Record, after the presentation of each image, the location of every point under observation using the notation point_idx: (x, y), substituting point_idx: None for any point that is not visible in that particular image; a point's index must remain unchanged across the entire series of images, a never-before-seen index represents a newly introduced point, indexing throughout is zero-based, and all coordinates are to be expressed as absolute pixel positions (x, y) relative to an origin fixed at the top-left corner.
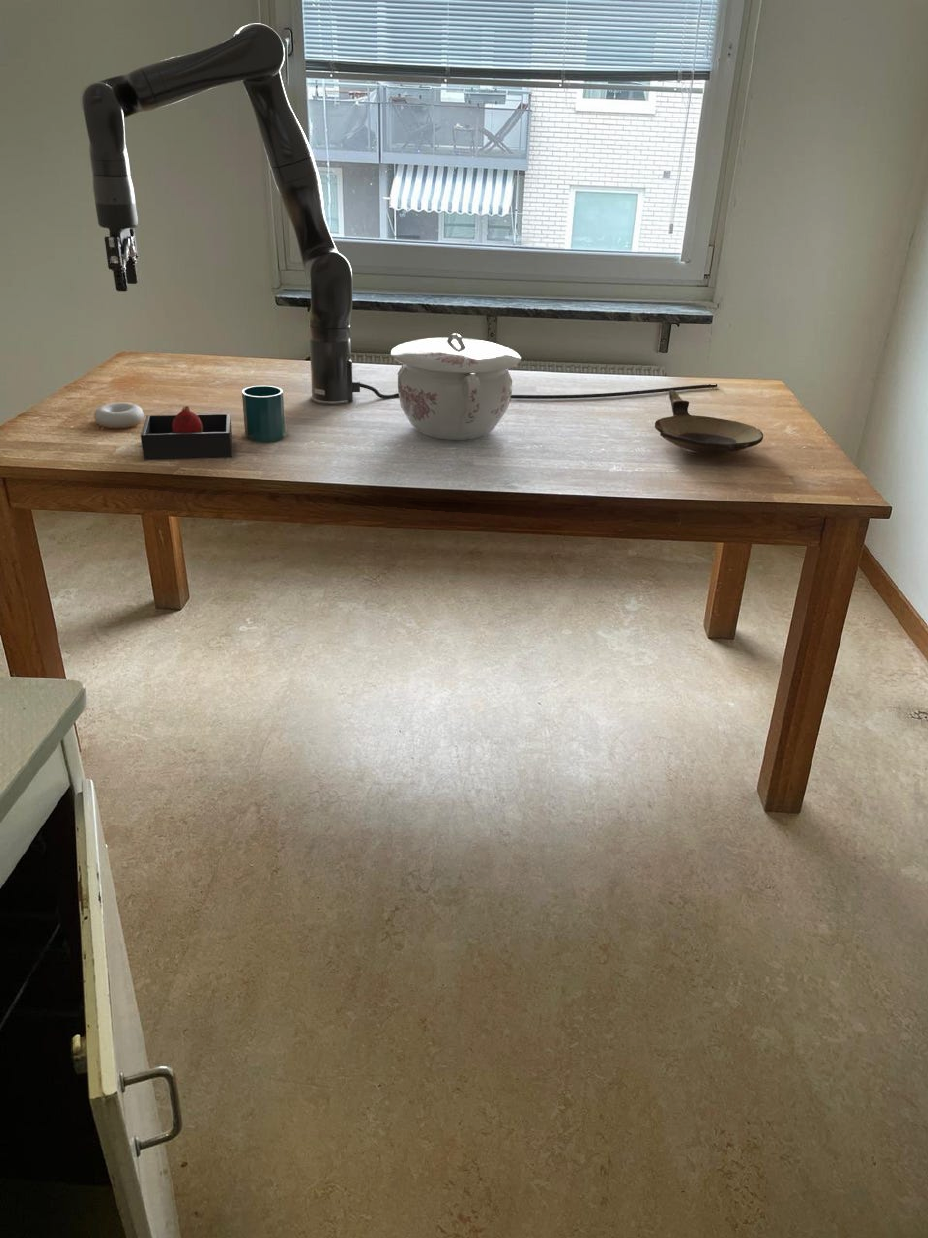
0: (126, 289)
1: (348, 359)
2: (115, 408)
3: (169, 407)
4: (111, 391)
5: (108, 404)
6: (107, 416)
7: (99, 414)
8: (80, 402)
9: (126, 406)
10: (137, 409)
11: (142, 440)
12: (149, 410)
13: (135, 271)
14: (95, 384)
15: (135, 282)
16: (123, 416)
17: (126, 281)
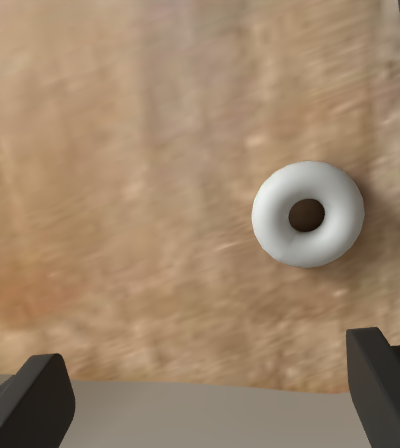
0: (379, 331)
1: None
2: (291, 232)
3: (170, 145)
4: (91, 305)
5: (288, 250)
6: (360, 225)
7: (350, 246)
8: (180, 334)
9: (285, 209)
10: (312, 173)
11: None
12: (202, 182)
13: (13, 414)
14: (56, 350)
15: (59, 363)
16: (356, 190)
17: (386, 367)
